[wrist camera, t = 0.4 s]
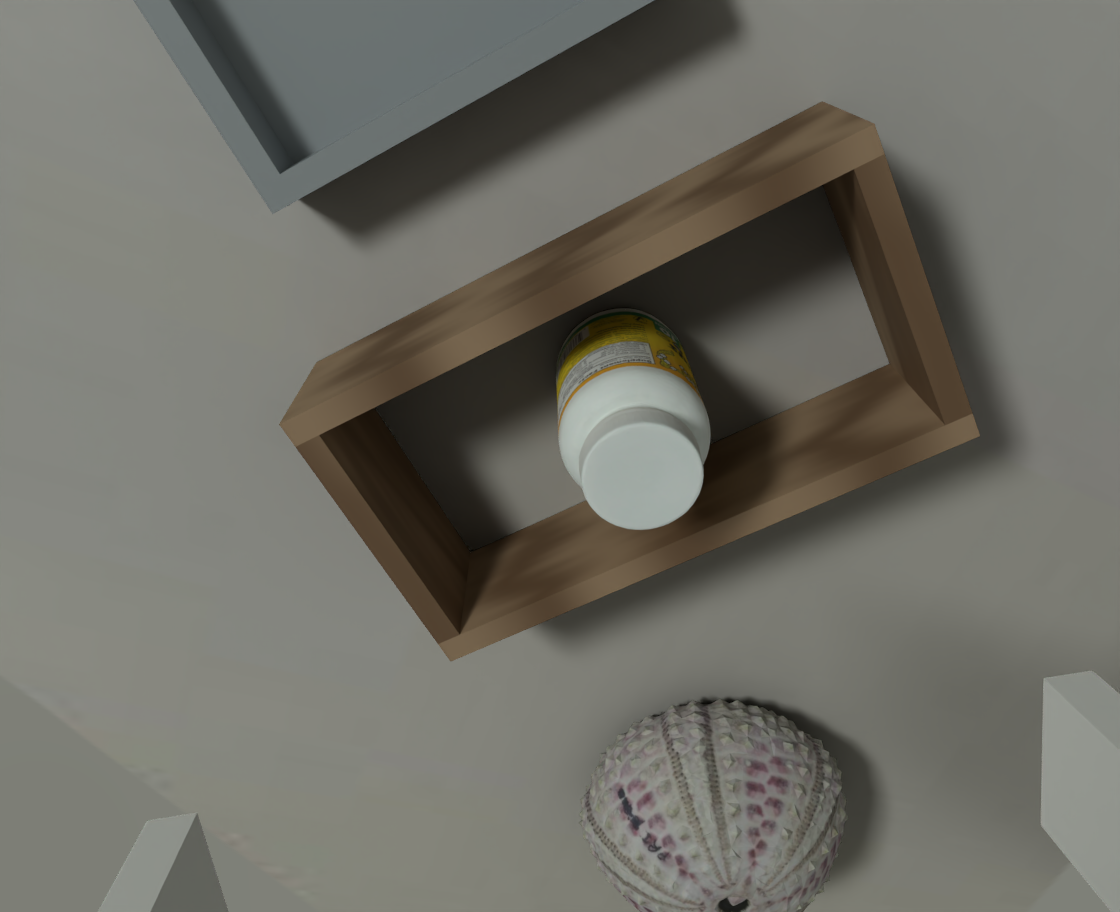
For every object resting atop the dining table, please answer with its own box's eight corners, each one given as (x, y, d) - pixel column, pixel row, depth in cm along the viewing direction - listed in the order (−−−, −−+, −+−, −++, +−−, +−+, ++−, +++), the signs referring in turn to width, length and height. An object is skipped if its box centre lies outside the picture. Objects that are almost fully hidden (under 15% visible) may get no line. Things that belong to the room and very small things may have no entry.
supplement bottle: (544, 319, 37) (543, 418, 29) (675, 293, 37) (714, 386, 28) (569, 436, 40) (576, 560, 31) (693, 413, 39) (734, 532, 31)
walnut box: (822, 101, 34) (874, 123, 28) (920, 373, 39) (980, 435, 33) (316, 362, 38) (279, 424, 33) (462, 577, 43) (450, 661, 38)
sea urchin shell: (613, 881, 53) (624, 1022, 46) (549, 707, 47) (550, 837, 40) (846, 836, 51) (894, 973, 44) (810, 649, 45) (860, 774, 38)
